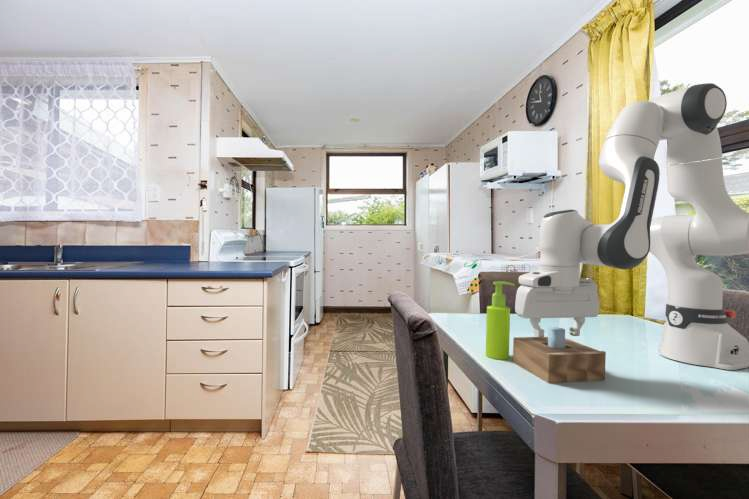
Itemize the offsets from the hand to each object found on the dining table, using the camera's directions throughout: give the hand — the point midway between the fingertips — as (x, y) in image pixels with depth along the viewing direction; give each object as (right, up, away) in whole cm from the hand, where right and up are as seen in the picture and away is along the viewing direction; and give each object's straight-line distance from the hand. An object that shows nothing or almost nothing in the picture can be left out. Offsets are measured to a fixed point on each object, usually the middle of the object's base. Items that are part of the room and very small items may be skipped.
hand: (556, 336), depth 87 cm
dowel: (0, -8, 0) cm, 8 cm away
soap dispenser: (-10, -8, +10) cm, 17 cm away
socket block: (0, -8, 0) cm, 8 cm away
